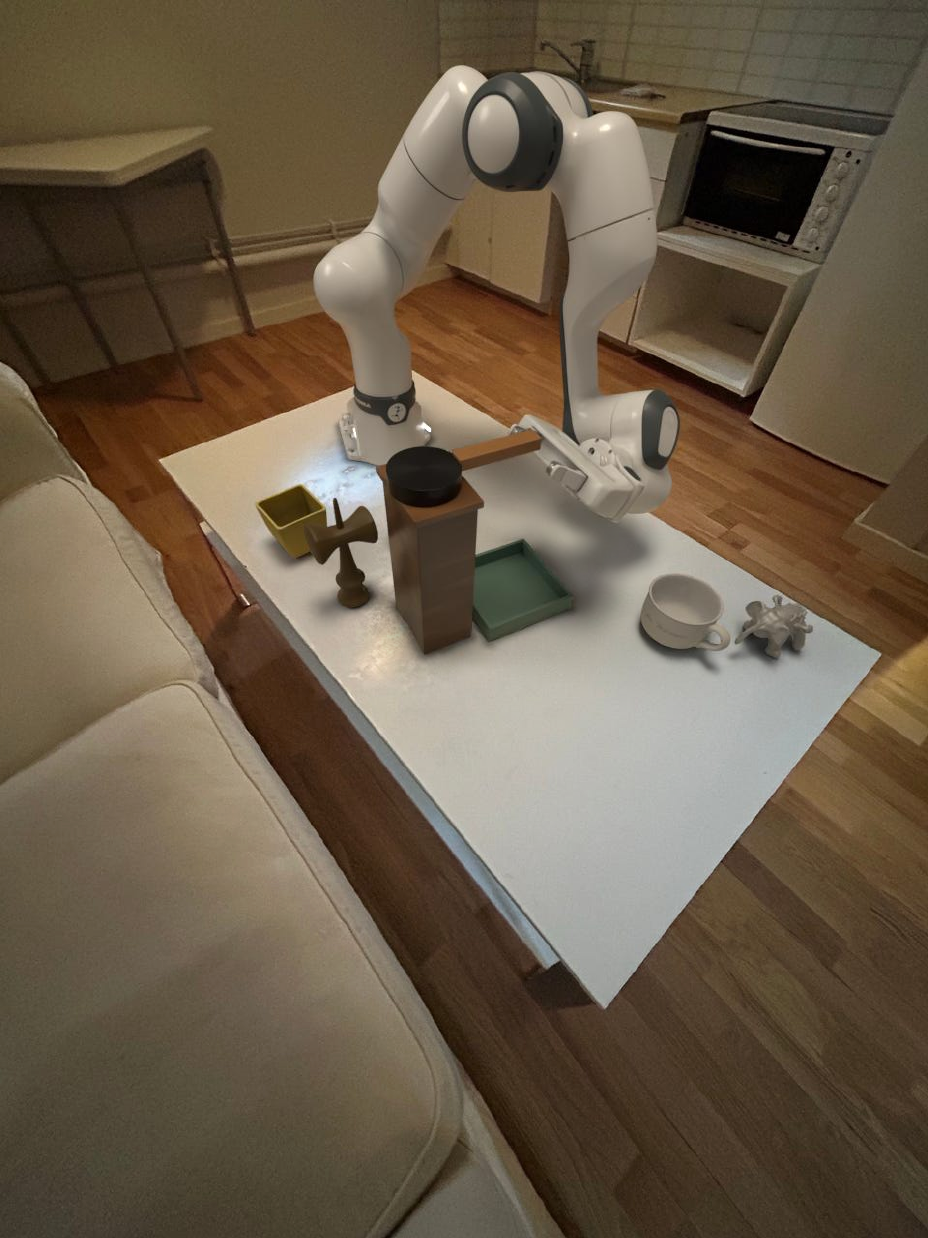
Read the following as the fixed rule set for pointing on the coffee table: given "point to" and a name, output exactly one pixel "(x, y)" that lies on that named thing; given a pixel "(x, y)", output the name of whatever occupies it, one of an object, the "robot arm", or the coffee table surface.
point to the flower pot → (292, 517)
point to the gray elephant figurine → (776, 624)
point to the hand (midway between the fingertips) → (531, 449)
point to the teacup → (683, 612)
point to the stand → (434, 564)
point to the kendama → (344, 550)
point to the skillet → (448, 467)
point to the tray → (514, 590)
